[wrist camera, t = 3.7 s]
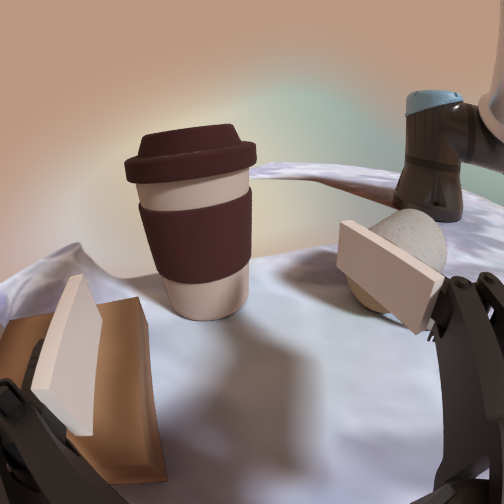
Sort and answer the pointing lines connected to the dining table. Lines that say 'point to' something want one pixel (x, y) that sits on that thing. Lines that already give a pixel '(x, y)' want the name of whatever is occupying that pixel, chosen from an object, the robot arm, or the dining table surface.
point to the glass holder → (1, 330)
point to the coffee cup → (197, 215)
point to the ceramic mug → (408, 247)
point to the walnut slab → (106, 392)
